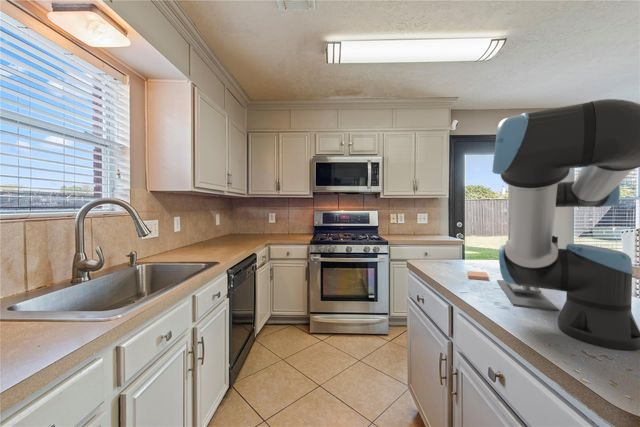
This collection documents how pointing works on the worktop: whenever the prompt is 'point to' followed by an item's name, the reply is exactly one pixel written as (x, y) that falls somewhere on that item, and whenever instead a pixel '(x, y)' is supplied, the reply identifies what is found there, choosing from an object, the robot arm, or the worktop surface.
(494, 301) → the worktop surface
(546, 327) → the worktop surface
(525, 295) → the rubber mat
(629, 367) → the worktop surface
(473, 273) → the terracotta tile
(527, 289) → the steel trowel
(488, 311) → the worktop surface
